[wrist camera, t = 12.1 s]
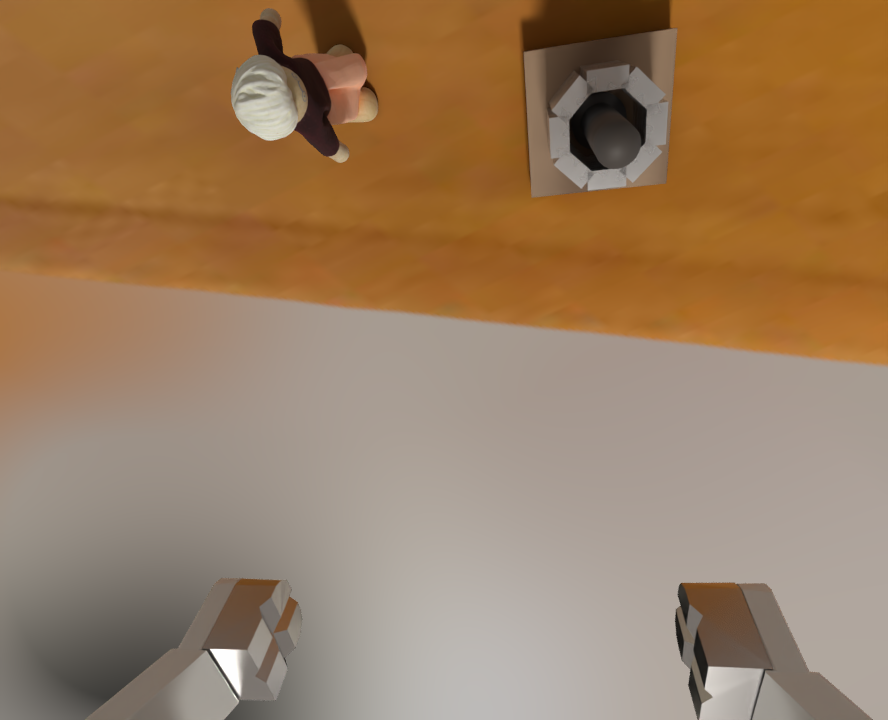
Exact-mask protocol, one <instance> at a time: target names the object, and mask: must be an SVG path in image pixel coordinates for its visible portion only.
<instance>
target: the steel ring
mask: <svg viewBox="0 0 888 720" xmlns="http://www.w3.org/2000/svg"><path fill="white" fill-rule="evenodd" d="M614 89H622V90H623V91H624V92H625V93H626V94H627V95H628V96H629V97H630V98H632V99H633V126H634V127H635V128H636V129H637V130H638V132H639V134H640V137H641V147H640V151H639V153H638V155H637V157H636V158H635V159H634V161H632V162H631V163H630V164H629V165H627V166H625V167H623V168H620V169H610V168H607V167H605V166H603V165H602V164H601V163H600V162H599V161H598V159H597V158H596V156H595V155H591V156H584V155H583V154H582V153H581V152H579V151H578V150H577V149H576V148H575V147H574V146H573V145H572V144H570V138H569V120H570V118H571V117H572V116H573V115H574V113H575V112H576V111H577V110H578V109H579V107H580V106H581V105H582V104H583V102H584V101H585V100H586V99H587V98H588V96H589V95H590V94H591V93H594V92H601V91H608V90H614ZM665 95H666V94H665V93H664V92H663V91H662V90H661V89H660V88H659V87H657V86H656V85H655V84H654V83H653V82H652V81H651V80H650V79H649V78H648V77H647V76H646V75H645V74H644V73H643V72H642V71H641V70H640V69H639V68H638V67H636V66H633V65H631V64H628V63H625V62H621V61H618V60H617V61H610V62H604V63H597V64H591V65H584V66H580V75H579V74H578V73H576V72H575V71H574V70H573V72H572V73H571V74H570V75H569V77H568V78H567V79H566V80H565V82H564V83H563V84H562V86H561V87H560V88H559V89H558V91H557V92H556V93H555V95H554V96H553V97H552V98H551V100H550V101H549V104H550V107H551V108H547V127H548V146H549V152H550V157H551V159H553V164H554V166H555V167H557V168H558V169H559V170H560V171H561V172H562V173H564V174H565V175H566V176H567V177H568V178H569V179H571V180H572V181H573V182H574V183H575V184H576V185H577V186H579V187H580V188H582V187H583V186H584V185H586V187H587V190H588V191H589V190H598V189H607V188H616V187H625V186H626V177H627V178H628V179H629V180H630V181H631V182H632V183H633V182H634V181H635V180H636V179H637V178H638V177H639V176H640V175H641V174H642V173H643V172H644V171H645V170H646V169H647V167H648V166H649V165H650V164H651V163H652V162H653V161H654V160H655V159H656V158H657V157H658V156H659V155H660V154H661V153H662V151H661V150H660V149H659V148H658V147H657V145H665V144H666V133H667V117H668V101H666V100H664V99H662V98H663V97H664V96H665Z"/></svg>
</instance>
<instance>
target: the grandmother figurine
mask: <svg viewBox="0 0 888 720" xmlns="http://www.w3.org/2000/svg"><path fill="white" fill-rule="evenodd" d="M280 27H281V17H280V15H279V14H278V13H277V11H275V10H274V9H270V8H268V9H265V10H263V12H262V13H261V16H260V19H259V20H257V21H255V22H254V23H253V26H252V31H253V36H254V39H255V43H256V46H257V50H258V54H259V55H254V56H252V57H251V58H249V59H248V60H247V61H245V62H244V63H243V64H242V65H241V67H240V68H238V67H237V69H236V74H235V77H234V80H233V83H232V89H231V101H232V106H233V108H234V110H235V113H236V116H237V118H238V119H239V121H240V122H241V124H242V125H243V126H244V127H246V128H247V130H249V131H250V132H252V133H254V134H256V135H257V136H259V137H260V138H263V139H265V140H276V139H279V138H283V137H286V136H287V135H289V134H291V133H292V132H293V130H295V131H297V132H299V133H300V134H302V135H303V136H304V138H305V139H306V140H307V141H308V142H309V143H310V144H311V145H313V146H314V147H315V148H316V149H317V150H318V151H319V152H320V153H321V154H323V155H324V156H328V157H330V158H332V159H334V160H335V161H337V162H345V161H346V160H347V159H348V157H349V150H348V148H347V146H346V145H344V144H343V143H341V142H340V141H339V140H338V138H337V136H336V134H335V132H334V130H333V128H332V126H331V124H332V125H335V124H343V123H346V122H368V121H371V120H373V119H374V118H375V117H376V115H377V113H378V102H377V99H376V96H375V94H374V93H373V92H372V91H371V90H370V89H368V88H366V87H362V86H363V84H364V82H365V80H366V78H367V68H366V64H365V61H364V60H363V58H362V57H361V56H360V55H359V54H357V53H353V52H352V51H351V50H350V49H349V48H348V47H347V46H345V45H335V46H333V47H332V48H331V49H330V50H329V51H328V52H327V53H326V54H304V55H295V56H293V57H292V58H290V57H288V56H286V55H284V54H283V46H282V40H281V37H280V32H279V29H280Z"/></svg>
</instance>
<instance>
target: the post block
mask: <svg viewBox="0 0 888 720" xmlns="http://www.w3.org/2000/svg"><path fill="white" fill-rule="evenodd" d="M676 39H677V28H669V29H663V30H656V31H650V32H644V33H637V34H631V35H624V36H618V37H612V38H605V39H599V40H592V41H586V42H580V43H573V44H567V45H561V46H554V47H548V48H541V49H535V50H529V51H524V67H525V85H526V103H527V121H528V139H529V157H530V175H531V193H532V197H541V196H550V195H560V194H569V193H579V192H588V190H587V187H586V185H584V186H583V187H582V188H580V187H579V186H577V185H576V184H575V183H574V182H573V181H572V180H571V179H569V178H568V177H567V176H566V175H565V174H564V173H562V172H561V171H560V170H559V169H558V168H557V167H555V166H554V164H553V159H551V157H550V152H549V146H548V127H547V108H551V107H550V104H549V101H550V100H551V98H552V97H553V96H554V95H555V93H556V92H557V91H558V89H559V88H560V87H561V86H562V84H563V83H564V82H565V80H566V79H567V78H568V77H569V75H570V74H571V73H572V72H573V70H574V71H575V72H576V73H578V74H579V75H580V66H584V65H591V64H597V63H604V62H610V61H617V60H618V61H621V62H625V63H628V64H631V65H633V66H636V67H638V68H639V69H640V70H641V71H642V72H643V73H644V74H645V75H646V76H647V77H648V78H649V79H650V80H651V81H652V82H653V83H654V84H655V85H656V86H657V87H659V88H660V89H661V90H662V91H663V92H664V93H665V94H666V95H665V96H664V97H663V98H662V99H664V100H666V101H668V117H667V133H666V144H665V145H657V147H658V148H659V149H660V150H661V151H662V153H661V154H660V155H659V156H658V157H657V158H656V159H655V160H654V161H653V162H652V163H651V164H650V165H649V166H648V167H647V169H646V170H645V171H644V172H643V173H642V174H641V175H640V176H639V177H638V178H637V179H636V180H635V181H634V182H633V183H632V182H631V181H630V180H629V179H628V178H627V177H626V186H625V187H616V188H607V189H617V188H626V187H636V186H645V185H655V184H664V183H666V179H667V165H668V151H669V137H670V123H671V109H672V95H673V81H674V67H675V53H676ZM569 138H570V144H572V145H573V146H574V147H575V148H576V149H577V150H578V151H579V152H581V153H582V154H583V155H584V156H591V155H595V156H596V158H597V159H598V161H599V162H600V163H601V164H602V165H603V166H605V167H607V168H610V169H620V168H623V167H625V166H627V165H629V164H630V163H631V162H632V161H634V159H635V158H636V157H637V155H638V153H639V151H640V147H641V137H640V134H639V132H638V130H637V129H636V128H635V127H634V126H633V99H632V98H630V97H629V96H628V95H627V94H626V93H625V92H624V91H623V90H622V89H614V90H608V91H601V92H594V93H591V94H590V95H589V96H588V98H587V99H586V100H585V101H584V102H583V104H582V105H581V106H580V107H579V109H578V110H577V111H576V112H575V113H574V115H573V116H572V117H571V118H570V120H569ZM607 189H598V190H607ZM598 190H589V191H598Z"/></svg>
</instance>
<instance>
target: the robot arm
mask: <svg viewBox="0 0 888 720" xmlns="http://www.w3.org/2000/svg"><path fill="white" fill-rule="evenodd" d="M291 591H292V589H291V587H290V585H289V583H288V581H287V580H272V579H270V580H269V579H243V578H221V579H220V580H218V582H216V583H215V584H214V585H213V587H212V589H211V591H210V593H209V594H208V596H207V598H206V599H205V601H204V603H203V605H202V606H201V608H200V610H199V612H198V614H197V615H196V617H195V619H194V621H193V622H192V624H191V626H190V628H189V630H188V631H187V633H186V635H185V637H184V639H183V640H182V642H181V644H180V645H179V647H178V649H171V650H170V651H168V652H167V653H166V654H165V655H163V656H162V657H161V658H160V659H158V660H157V661H156V662H155V663H154V664H152V665H151V666H150V667H149V668H148V669H146V670H145V671H144V672H143V673H142V674H140V675H139V676H138V677H136V678H135V679H134V680H133V681H132V682H130V683H129V684H128V685H127V686H126V687H124V688H123V689H122V690H121V691H120V692H118V693H117V694H116V695H115V696H113V697H112V698H111V699H110V700H108V701H107V702H106V703H105V704H104V705H102V706H101V707H100V708H99V709H97V710H96V711H95V712H94V713H92V714H91V715H90V716H89V717H88V718H86V719H85V720H224V719H225V718H226V717H227V715H228V714H229V713H230V712H231V711H232V710H233V709H234V708H235V706H236V705H237V704H238V703H239V701H238V700H271V701H276V699H277V697H278V694H279V692H280V689H281V686H282V683H283V681H284V678H285V675H286V673H287V670H288V666H287V663H286V659H285V657H286V656H287V655H289V654H290V653H291V652H292V651H293V650H294V649H295V648H296V645H297V642H298V640H299V637H300V633H301V625H302V614H301V609H300V606H299V604H298V602H296V601H295V600H294V599H292V598H291V597H289V596H290V593H291ZM678 598H679V602H680V605H681V606H680V607H678V608H677V609H676V615H675V626H676V636H677V642H678V647H679V651H680V655H681V659H682V661H683V662H684V663H685V664H686V665H687V667H688V668H690V676H689V684H688V686H689V690H690V693H691V697H692V701H693V704H694V708H695V711H696V715H697V719H698V720H873V719H871V718H870V717H869V716H868V715H867V714H866V713H864V712H863V711H862V710H861V709H860V708H859V707H858V706H857V705H855V704H854V703H853V702H852V701H851V700H850V699H849V698H847V697H846V696H845V695H844V694H843V693H841V692H840V691H839V690H838V689H837V688H836V687H835V686H834V685H833V684H831V683H830V682H829V681H828V680H827V679H825V677H823V676H822V675H821V674H820V673H817V672H809V670H808V668H807V666H806V663H805V661H804V659H803V657H802V655H801V653H800V650H799V648H798V646H797V644H796V642H795V640H794V638H793V635H792V633H791V631H790V629H789V627H788V625H787V623H786V620H785V618H784V616H783V614H782V612H781V610H780V607H779V605H778V603H777V601H776V599H775V597H774V595H773V592H772V590H771V589H770V588H769V587H768V586H767V585H766V584H763V583H760V584H759V583H754V584H735V583H681V584H680V585H679V588H678Z"/></svg>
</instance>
